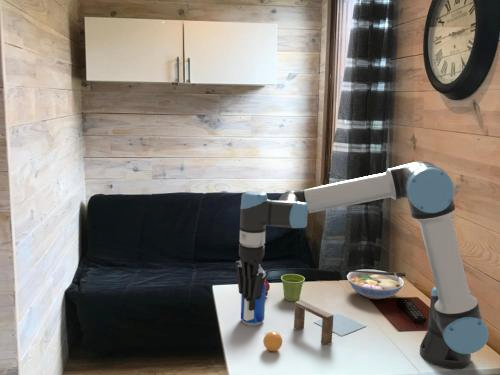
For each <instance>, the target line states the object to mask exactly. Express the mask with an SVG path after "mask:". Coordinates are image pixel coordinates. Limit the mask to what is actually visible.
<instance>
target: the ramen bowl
mask: <svg viewBox="0 0 500 375" xmlns="http://www.w3.org/2000/svg"><path fill="white" fill-rule="evenodd" d="M343 271H344V272H348V274H347V275H346V278H347V280H348V283H349V284H350V286H351V288H352V289H353V290H354V291H355V292H356V293H358V294H360V295H361V296H363V297H366V298H368V299H371V300H381V299H386V298H390V297H393V296H394V295H396V294H397V293H398V292H400V290H401V289H402V288H403V286H404V285H405V284H404V283H405V281H404V280H403V279H402V278H401V277H406V273H405V272H393V271H392V272H388V271H383V270H377V269H357V270H350V269H344V270H343Z"/></svg>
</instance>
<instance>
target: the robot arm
mask: <svg viewBox="0 0 500 375" xmlns="http://www.w3.org/2000/svg"><path fill="white" fill-rule="evenodd" d="M454 196H455V186H454V183H453V181H452V178H451V177H450V176H449V174H448V173H447V172H446V171H445V170H443V169H442V168H440V167H437V166H436V165H434V164H432V163H431V162H428V161H424V160H423V161H421V160H420V161H413V162H410V163H409V162H408V163H406V164H401V165H398V166H395V167H391V168H387V170H386V171H385V172H383V173H377V174H372V175H368V176H367V175H366V176H363V177H358V178H353V179H348V180H343V181H339V182H333V183H330V184H325V185H324V184H323V185H320V186H316V187H315V186H314V187H311V188H306V189H301V190H297V191H295V190H287V191H285V192H283V193H282V194H281V195H280V197H279V199H278V200H273V199H268V198H269V197H268V194H267V193H266V192H264V191H259V190H249V191H245V192H243V193H242V194H241V200H240V201H241V202H240V215H239V218H240V219H239V221H240V222H239V240H238V241H239V245H238V256H239V257H240V259H239V260H237V261H234V265H235V268H236V276H237V285H238V286H237V288H238V294H240V295H241V294H242V295H243V298H244V302H243V303H244V304H243V306H244V320H246V321H248V320H251V319H254V310H255V300H258V299H261V295H262V290H263V286H264V282H265V280H266V278H267V277H268V275H269V273H268V271H266V270H265V271H264V269H263V262H262V260H263V259H264V257H265V249H266V248H265V244H266V226H267V227H278V228H279V227H281V228H291V229H305V228H306V227H307V226H308V214H312V213H316V212H317V213H318V212H323V211H327V210H333V209H337V208H343V207H348V206H352V205H358V204H362V203H368V202H373V201H377V200H382V199H389V198H392V199H393V200H401V199H407V202H408V205H409V206H408V207H409V210H410V214H411V217H412V219H413V220H415V221H416V222H418V223H419V227H420V232H421V235H422V239H423V242H424V246H425V250H426V251H425V252H426V255H427V257H428V262H429V267H430V269H431V274H432V275H431V276H432V279H433V283H434V287H433V288H432V290H431V293H430V304H429V315H428V325H427V331H426V333H425V334H424V336H423V339H422V340H421V343H420V345H419V354H420V357H421V358H422V359H424V360H425V361H426V362H428V363H429V364H431V365H435V366H437V367H441V368H445V369H450V370H451V369H452V370H455V369H456V370H458V369H464V368H467V367H468V366H469V365H470V364H471V360H472V359H471V358H472V355H471V354H473V353H477V352H478V351H479V352H480V351H481V350H482V349H483V348H484V346H485V345H487V343H488V340H489V337H490V336H489V329H488V325H487V324H486V323H485V322H484V321H483V317H482V314H481V310H480V305H479V302H478V299H477V298H476V297H475V296H473V293H472V291H471V290H470V288H469V286H468V281H467V280H468V279H467V275H466V272H465V269H464V264H463V259H462V256H461V252H460V247H459V243H458V239H457V235H456V231H455V226H454V222H453V217H452V215H453V214H454V212H455V211H456V205H455V201H454Z"/></svg>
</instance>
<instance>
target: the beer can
mask: <svg viewBox="0 0 500 375" xmlns="http://www.w3.org/2000/svg"><path fill="white" fill-rule="evenodd" d="M265 288H266V285H265V283H264V286H263V290H262V295H261V299H258V300H255V310H254V319H251V320H248V321H246V320H244V306H243V304H244V303H243V302H244V298H243V295H242V294H240V298H241V299H240V300H241V301H240V320H241V321H242V322H243V324H244V325H247V326H252V327H253V326H259V325H261V324H262V323H263V321H264V320H265V311H266V310H265V309H266V308H265V307H266V296H265Z"/></svg>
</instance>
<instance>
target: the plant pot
mask: <svg viewBox="0 0 500 375" xmlns="http://www.w3.org/2000/svg"><path fill="white" fill-rule="evenodd" d="M280 279H281V282H282V289H283V298H284V300H286V301H288V302H297V301H300V300H301V299H300V298H301V293H302V289H303V285H304V282H305V279H306V278H305V277H304V276H303V275H301V274H298V273H297V274H295V273H288V274H287V273H286V274H283V275H281V277H280Z"/></svg>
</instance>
